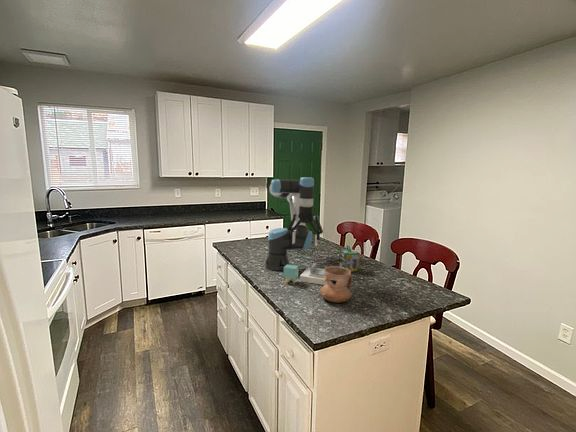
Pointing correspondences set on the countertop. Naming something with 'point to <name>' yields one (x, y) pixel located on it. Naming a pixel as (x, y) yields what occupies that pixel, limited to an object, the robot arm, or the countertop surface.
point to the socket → (312, 277)
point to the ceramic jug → (336, 284)
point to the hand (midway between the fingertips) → (304, 244)
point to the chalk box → (349, 259)
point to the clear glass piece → (316, 270)
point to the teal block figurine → (290, 273)
